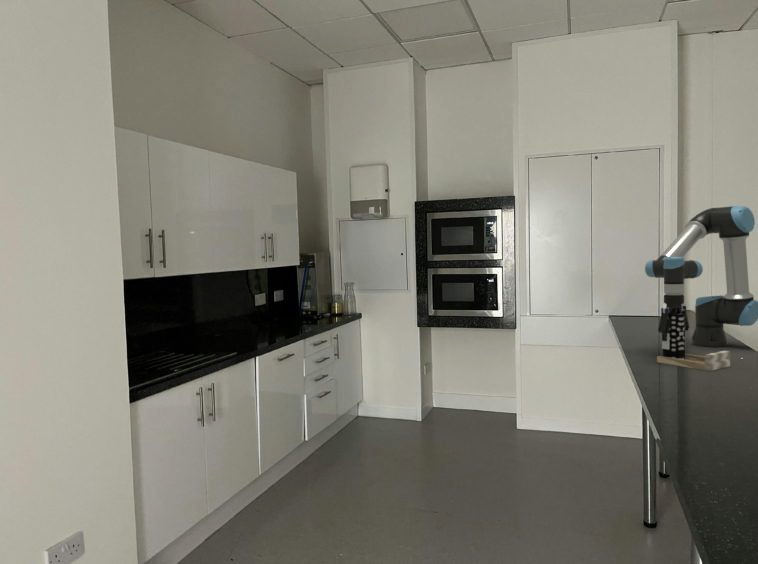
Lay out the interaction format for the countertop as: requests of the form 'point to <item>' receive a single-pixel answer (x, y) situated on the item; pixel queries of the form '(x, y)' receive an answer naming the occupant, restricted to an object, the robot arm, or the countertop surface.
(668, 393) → the countertop surface
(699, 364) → the guide channel
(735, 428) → the countertop surface
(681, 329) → the white-spotted black cylinder
